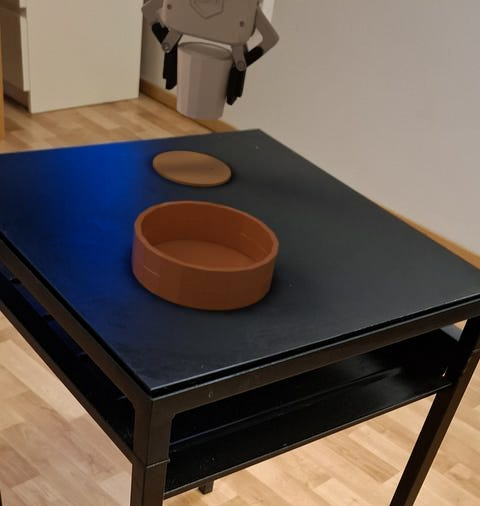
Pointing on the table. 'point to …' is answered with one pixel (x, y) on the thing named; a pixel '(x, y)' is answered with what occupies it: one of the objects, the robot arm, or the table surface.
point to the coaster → (191, 168)
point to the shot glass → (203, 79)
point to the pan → (203, 255)
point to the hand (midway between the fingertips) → (201, 93)
